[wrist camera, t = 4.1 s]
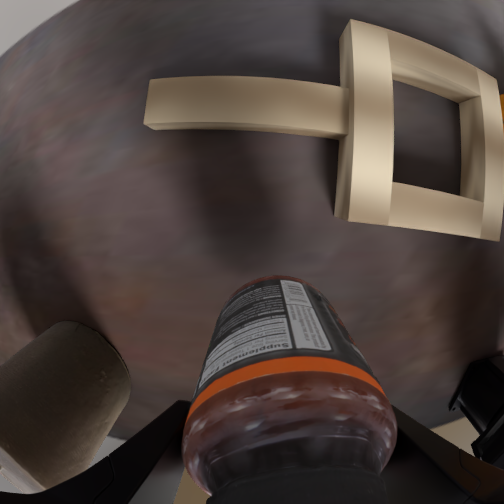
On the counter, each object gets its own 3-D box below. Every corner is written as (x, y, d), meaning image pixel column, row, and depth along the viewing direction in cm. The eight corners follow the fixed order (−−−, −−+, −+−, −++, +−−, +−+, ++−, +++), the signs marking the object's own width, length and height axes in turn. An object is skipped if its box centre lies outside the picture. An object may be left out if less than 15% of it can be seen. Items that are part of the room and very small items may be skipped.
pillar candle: (106, 315, 20) (-23, 440, 5) (148, 410, 21) (86, 542, 7) (33, 322, 20) (-72, 399, 6) (73, 403, 22) (3, 496, 8)
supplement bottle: (341, 355, 14) (418, 536, 3) (239, 383, 15) (220, 573, 4) (319, 255, 13) (469, 435, 2) (201, 289, 14) (92, 496, 3)
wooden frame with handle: (475, 235, 18) (499, 241, 15) (149, 204, 18) (130, 207, 15) (475, 87, 15) (496, 79, 12) (170, 31, 15) (158, 11, 12)
